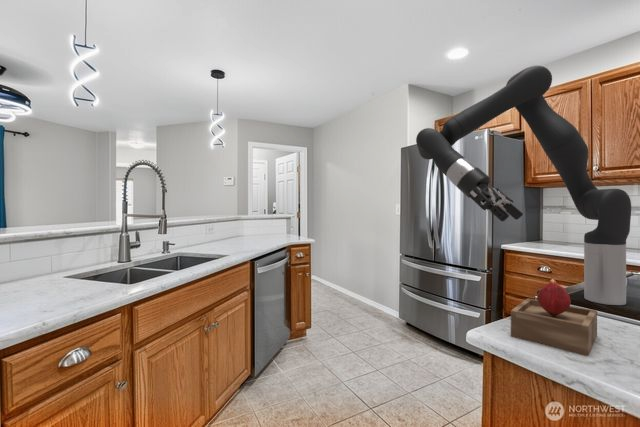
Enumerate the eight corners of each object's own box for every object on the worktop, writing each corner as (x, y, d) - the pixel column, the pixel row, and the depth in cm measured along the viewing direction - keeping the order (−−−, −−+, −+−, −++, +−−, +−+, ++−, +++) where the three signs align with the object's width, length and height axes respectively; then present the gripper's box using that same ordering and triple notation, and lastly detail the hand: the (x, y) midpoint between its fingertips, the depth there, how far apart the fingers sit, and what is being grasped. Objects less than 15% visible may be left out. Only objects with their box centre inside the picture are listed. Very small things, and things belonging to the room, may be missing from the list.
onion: (577, 321, 65) (576, 283, 65) (546, 320, 66) (545, 282, 66) (561, 311, 70) (560, 276, 70) (533, 311, 72) (532, 276, 71)
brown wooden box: (527, 323, 77) (527, 298, 77) (597, 338, 68) (597, 310, 68) (510, 338, 69) (510, 310, 69) (588, 358, 59) (588, 326, 59)
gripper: (463, 165, 81) (513, 208, 73) (488, 168, 90) (535, 206, 81) (445, 187, 86) (490, 230, 77) (470, 187, 94) (513, 226, 86)
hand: (513, 218), depth 79 cm, fingers open, 8 cm apart
